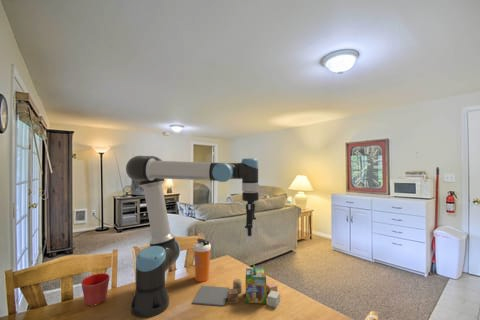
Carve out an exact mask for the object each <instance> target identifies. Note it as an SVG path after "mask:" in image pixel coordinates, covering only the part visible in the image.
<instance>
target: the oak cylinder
mask: <svg viewBox="0 0 480 320" xmlns="http://www.w3.org/2000/svg"><path fill="white" fill-rule="evenodd" d="M242 284H243V283H242V279H239V278H235V279H233V280H232V289H237V291H238V295H239V294H241V293H242V291H243V290H242Z"/></svg>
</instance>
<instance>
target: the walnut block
mask: <svg viewBox="0 0 480 320" xmlns="http://www.w3.org/2000/svg"><path fill="white" fill-rule="evenodd" d="M227 299H228V304H235V303H237V304H238V303H239V294H238V291H237V289H233V288H230V289H228V296H227Z"/></svg>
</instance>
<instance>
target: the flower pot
mask: <svg viewBox="0 0 480 320" xmlns="http://www.w3.org/2000/svg"><path fill="white" fill-rule="evenodd" d="M109 283H110V274H108V273H105V272H104V273H103V272H101V273H95V274H92V275H88V276H86V277H84V279H82V280H81V284H80V285H81V289H82V295H83V299H84V303H85V304H84V305H86V306H87V305H94V306H96V305H95V304H98V305H100V304H102V303H103V302H105V301H106V299H107V294H108V289H109ZM101 302H102V303H101ZM99 303H100V304H99Z"/></svg>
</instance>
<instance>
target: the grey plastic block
mask: <svg viewBox="0 0 480 320" xmlns="http://www.w3.org/2000/svg"><path fill="white" fill-rule="evenodd" d="M280 302H281V292H280V291H277V292H276V291H272V290H271V292H270V293H269V295H268V294H267V306H269V307H272V308H273V307H274V308H278V307H279V304H280Z"/></svg>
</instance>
